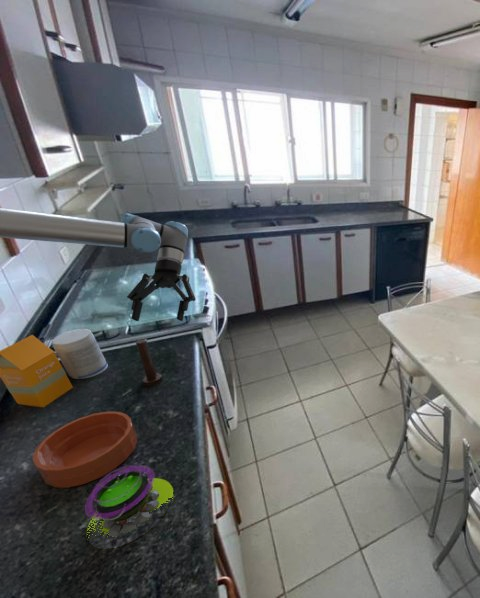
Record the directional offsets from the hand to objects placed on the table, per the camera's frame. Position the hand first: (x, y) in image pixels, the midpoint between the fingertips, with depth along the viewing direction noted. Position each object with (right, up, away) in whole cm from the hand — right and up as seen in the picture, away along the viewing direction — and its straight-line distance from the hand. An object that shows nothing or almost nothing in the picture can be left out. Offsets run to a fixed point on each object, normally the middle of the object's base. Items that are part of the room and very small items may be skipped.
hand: (157, 319), depth 110 cm
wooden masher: (0, -21, -2) cm, 21 cm away
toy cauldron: (+24, -39, -39) cm, 60 cm away
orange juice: (-24, -23, -12) cm, 35 cm away
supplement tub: (-22, -18, 0) cm, 28 cm away
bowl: (+5, -33, -28) cm, 43 cm away
